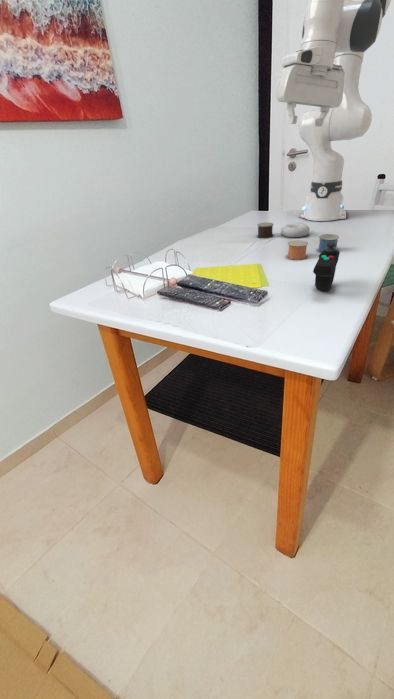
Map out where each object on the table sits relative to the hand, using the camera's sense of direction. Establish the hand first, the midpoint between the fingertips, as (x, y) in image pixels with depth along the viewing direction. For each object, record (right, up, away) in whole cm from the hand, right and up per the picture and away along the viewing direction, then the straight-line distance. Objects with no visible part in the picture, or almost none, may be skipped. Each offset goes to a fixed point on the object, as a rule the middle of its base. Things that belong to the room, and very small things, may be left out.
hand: (305, 125), depth 93 cm
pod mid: (0, -34, +9) cm, 35 cm away
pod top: (+11, -31, +12) cm, 35 cm away
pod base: (-5, -20, +32) cm, 38 cm away
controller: (0, -48, -13) cm, 50 cm away
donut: (+6, -20, +31) cm, 37 cm away
